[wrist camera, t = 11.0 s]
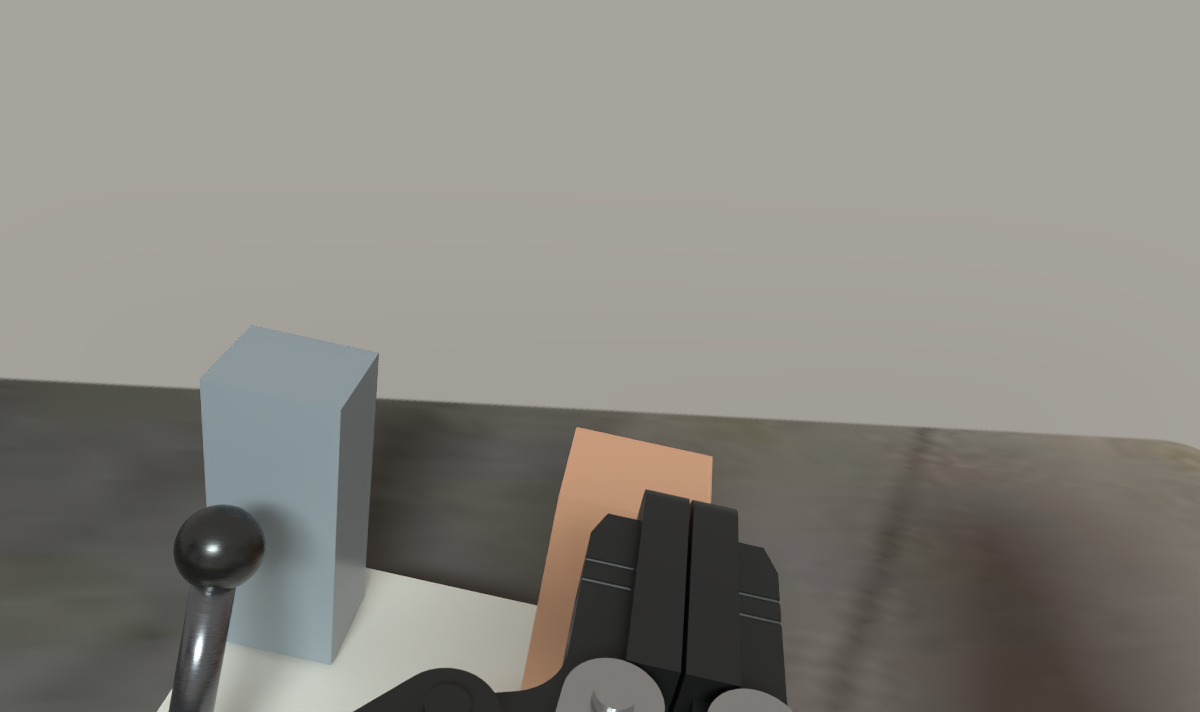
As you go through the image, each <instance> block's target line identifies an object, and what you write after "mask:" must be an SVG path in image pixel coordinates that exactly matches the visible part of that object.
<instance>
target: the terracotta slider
mask: <svg viewBox="0 0 1200 712" xmlns="http://www.w3.org/2000/svg"><path fill="white" fill-rule="evenodd" d="M711 485H712V456H707V455H703V454H698V453H693V452H689V451H684V450H680V449H675V448H670V447H666V446H661V445H657V444H652V443H647V442H643V441H638V440H634V439H629V438H624V437H620V436H615V435H611V434H606V433H602V432H597V431H592V430H588V429H583V428H579V427H576V431H575V435H574V439H573V443H572V447H571V451H570V455H569V459H568V462H567V466H566V470H565V474H564V478H563V482H562V486H561V490H560V494H559V498H558V503H557V508H556V513H555V518H554V523H553V528H552V533H551V538H550V544H549V549H548V554H547V559H546V564H545V569H544V574H543V579H542V584H541V589H540V594H539V600H538V605H537V610H536V615H535V620H534V625H533V630H532V635H531V640H530V645H529V650H528V655H527V661H526V666H525V671H524V676H523V681H522V686H521V690H527V689H530V688H534V687H536V686H539V685H541V684H543V683H545V682H546V681H548V680H550V679H551V678H552V677H553V676H554V675H555V674H557V673H558V671H559V670H560V669H561V667H562V664H563V659H564V654H565V649H566V644H567V638H568V633H569V628H570V623H571V618H572V613H573V608H574V603H575V598H576V594H577V589H578V585H579V581H580V577H581V572H582V568H583V564H584V560H585V555H586V551H587V547H588V543H589V538H590V534H591V531H592V530H593V529H594V528H595V527H596V526H597V525H598V524H599V523H600V521H601V520H602V519H603V518H604V517H605V516H606V515H607V514H608V513H609V514H613V515H618V516H622V517H627V518H631V519H636V520H637V517H638V513H639V509H640V505H641V502H642V498H643V495H644V492H645V490H646V489H648V490H652V491H657V492H661V493H666V494H670V495H675V496H679V497H684V498H688V499H690V503H691V501H692V500H696V501H701V502H705V503H710V504H711Z"/></svg>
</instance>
